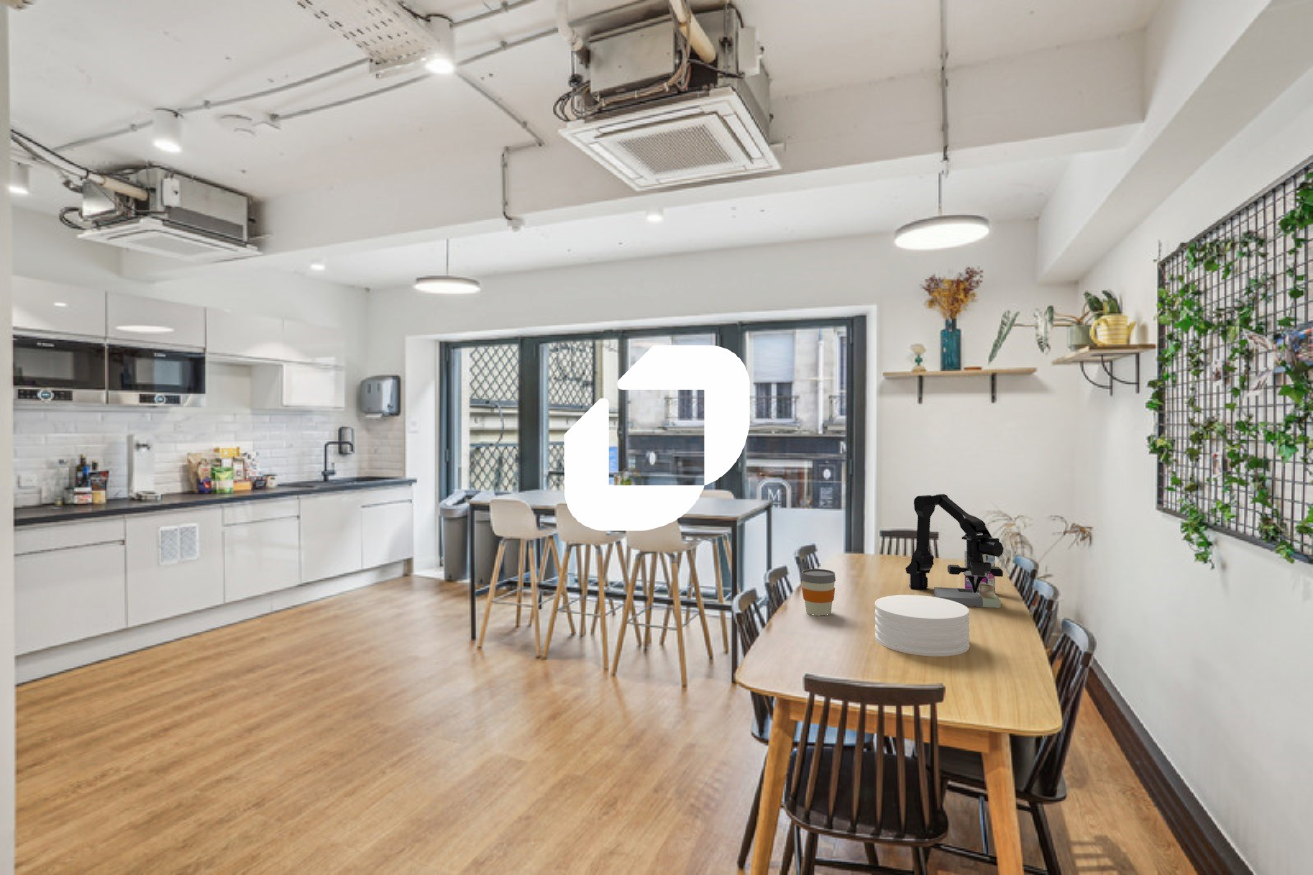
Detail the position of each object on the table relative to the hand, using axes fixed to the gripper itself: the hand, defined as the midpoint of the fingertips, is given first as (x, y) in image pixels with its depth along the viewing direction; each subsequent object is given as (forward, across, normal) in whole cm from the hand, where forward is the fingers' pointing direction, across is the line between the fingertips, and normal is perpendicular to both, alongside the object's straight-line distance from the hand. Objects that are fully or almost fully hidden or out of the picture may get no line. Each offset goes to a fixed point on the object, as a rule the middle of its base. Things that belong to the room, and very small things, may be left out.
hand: (974, 592), depth 253 cm
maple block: (+1, +4, 0) cm, 4 cm away
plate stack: (+5, -25, -52) cm, 58 cm away
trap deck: (+4, -2, +4) cm, 6 cm away
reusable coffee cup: (+5, -58, -26) cm, 64 cm away
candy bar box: (+4, +6, +22) cm, 23 cm away
